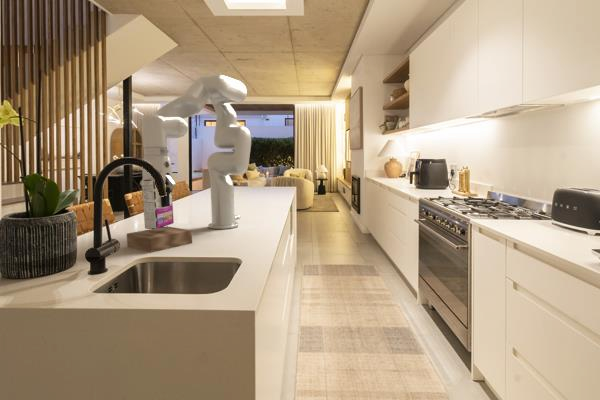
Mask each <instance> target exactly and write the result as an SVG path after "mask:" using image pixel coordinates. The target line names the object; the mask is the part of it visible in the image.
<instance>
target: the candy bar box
mask: <svg viewBox="0 0 600 400" xmlns="http://www.w3.org/2000/svg"><path fill="white" fill-rule="evenodd" d="M141 181H142V186H141V192H142V205H143V206H142V207H143V217H144V218H143V220H144V229H145V230H149V229H159V228H162V227H166V226H169V225H172V224H174V220H175V219H174V207H173V204H174V203H173V190H172V191H171V194H170V195H169V198H170V206H167V207H162V206H161V197H160V195H159V192H158V190H157V188H156V185H155V182H154V179H146V180H142V179H141V180H140V182H141Z"/></svg>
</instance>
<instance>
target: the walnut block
mask: <svg viewBox="0 0 600 400" xmlns="http://www.w3.org/2000/svg"><path fill="white" fill-rule="evenodd" d="M192 232H193V231H192V230H191V229H186V228H185V229H184V228H179V227H175V226H174V227H173V226H169V225H167V226H164V227H162V228H159V229H145V230H139V231H134V232H128V233H127V232H126V242H127V243H126V244H127V245H126V246H127V248H131V249H136V250H139V251H144V252H149V253H155V252H160V251H164V250H169V249H174V248H178V247H181V246H187V245H191V244H193V234H192Z"/></svg>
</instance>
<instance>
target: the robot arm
mask: <svg viewBox="0 0 600 400" xmlns="http://www.w3.org/2000/svg"><path fill="white" fill-rule="evenodd" d="M247 94H248V91H247V87H246V85H245V84H244V82H242V81H241V80H238V79H235V78H233V77H230V76H227V75H224V74H212V75H202V76H200V77H197V79H196V80H194V82H193V83H191V85H190V86H189V87H188V88H187V90H185V91H184V93H183V94H182V95H181V96H178V97H177V98H175V99H174V100H171V101H170V102H168V103H165V104H164V105H163V106H162V107H160V108H159V109H158V110H157V111H155V112H154V114H153V115H152V114H151V115H144V116H143V117H142V119H141V126H142V127H141V128H142V146H143V157H142V161H143V160H146V161H148V162H150V163H151V164H152V165H153V166H154V167H155V168H156V169H157V170H158V171H159V172H160V173H161V174H162V176H163V179H164V182H165V184H166V192H167V196H164V197H161V206H162V207H167V206H170V198H169V195H170V194H171V191H172V192H173V189H174V188H175V186H176V183H175V181H174V176H173V166H172V163H171V162H172V161H171V157H170V156H168V155H169V154H168V153H169V150H168V139H180V138H183V137H185V135H187V133H188V129H189V127H188V126H189V125H188V123H187V121H186V120H185V119H187V118H190V117H193V116H195V115H198V114H199V113H200V112H201V111H202V109H203V108H204V107H205V106H206V104H208V103H209V101H210V103H211V104H212V106H213V108H214V110H215V115H216V120H215V128H214V129H215V130H214V137H213V139H214V140H213V143H214V146H215V147H216V148H217V149H219V150H233V151H216V152H212V153H211V154H210V155H208V158H207V161H206V166H207V171H208V174H209V182H210V203H211V205H210V207H211V208H210V209H211V211H210V212H211V222H210V223H208V228H209V229H214V230H225V229H227V230H229V229H234V228H237V227H239V223H238V222H236V221H237V220H240V219H241V215H239V214H235V191H234V189H235V187H234V182H233V180H232V178H231V176H242V175H244V174H246V173H247V171H248V168H249V164H250V157H251V156H250V154H251V149H252V148H251V147H252V135H251V134H252V133H251V132H250V129H248V128H247V127H246V126H243V125H237V124H238V123H237V121H238V120H237V119H238V116H237V113H236V111H235V109H234V108H233V106H232V105H231V104H239V103H242V102H244V101H245V100H246V98H247ZM146 179H153V177H152V176H151V174H150V173H149V172H147V171H146V170H145V169H143V167H142V179H141V180H146ZM141 180H140V182H139V185H140V186H141V187H142V181H141Z"/></svg>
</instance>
